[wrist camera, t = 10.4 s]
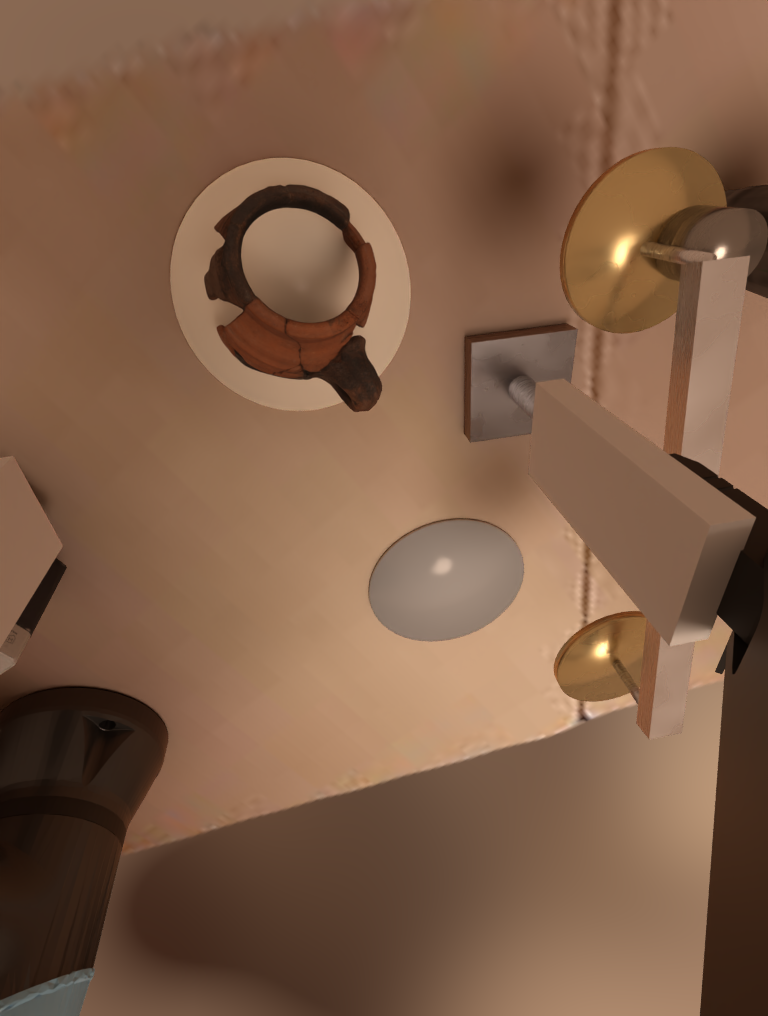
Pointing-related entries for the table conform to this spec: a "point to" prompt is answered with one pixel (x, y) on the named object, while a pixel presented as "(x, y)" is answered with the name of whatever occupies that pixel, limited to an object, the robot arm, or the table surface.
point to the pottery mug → (283, 341)
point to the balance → (693, 381)
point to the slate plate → (446, 580)
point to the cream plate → (288, 275)
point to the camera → (30, 617)
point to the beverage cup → (764, 200)
